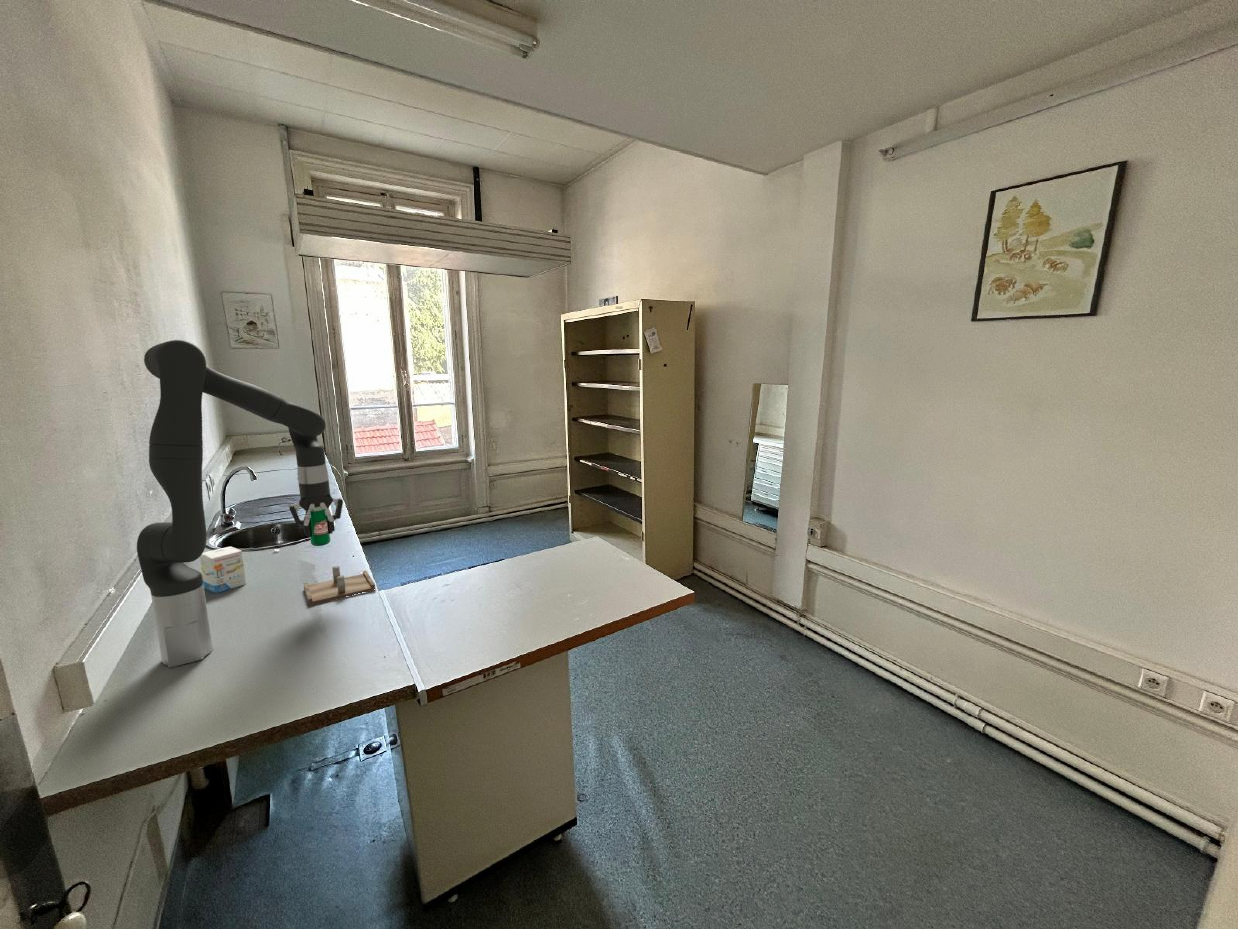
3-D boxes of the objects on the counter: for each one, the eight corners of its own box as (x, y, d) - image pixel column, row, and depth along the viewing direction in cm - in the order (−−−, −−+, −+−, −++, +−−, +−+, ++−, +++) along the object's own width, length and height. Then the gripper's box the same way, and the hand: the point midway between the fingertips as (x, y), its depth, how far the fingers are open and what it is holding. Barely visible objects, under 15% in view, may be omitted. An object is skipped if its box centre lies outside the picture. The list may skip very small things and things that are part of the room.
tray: (375, 590, 154) (374, 572, 153) (308, 606, 143) (306, 586, 142) (366, 576, 165) (365, 559, 164) (304, 589, 154) (302, 571, 153)
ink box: (215, 594, 150) (210, 558, 148) (203, 588, 154) (198, 553, 152) (247, 584, 157) (242, 550, 155) (234, 578, 162) (230, 545, 160)
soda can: (316, 548, 142) (311, 509, 139) (307, 544, 144) (302, 506, 142) (334, 542, 146) (329, 504, 143) (325, 539, 148) (320, 502, 146)
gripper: (284, 485, 134) (292, 543, 137) (343, 478, 142) (349, 533, 146) (283, 480, 140) (290, 536, 143) (339, 474, 148) (345, 526, 152)
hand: (320, 534), depth 144 cm, fingers closed on soda can, 5 cm apart
